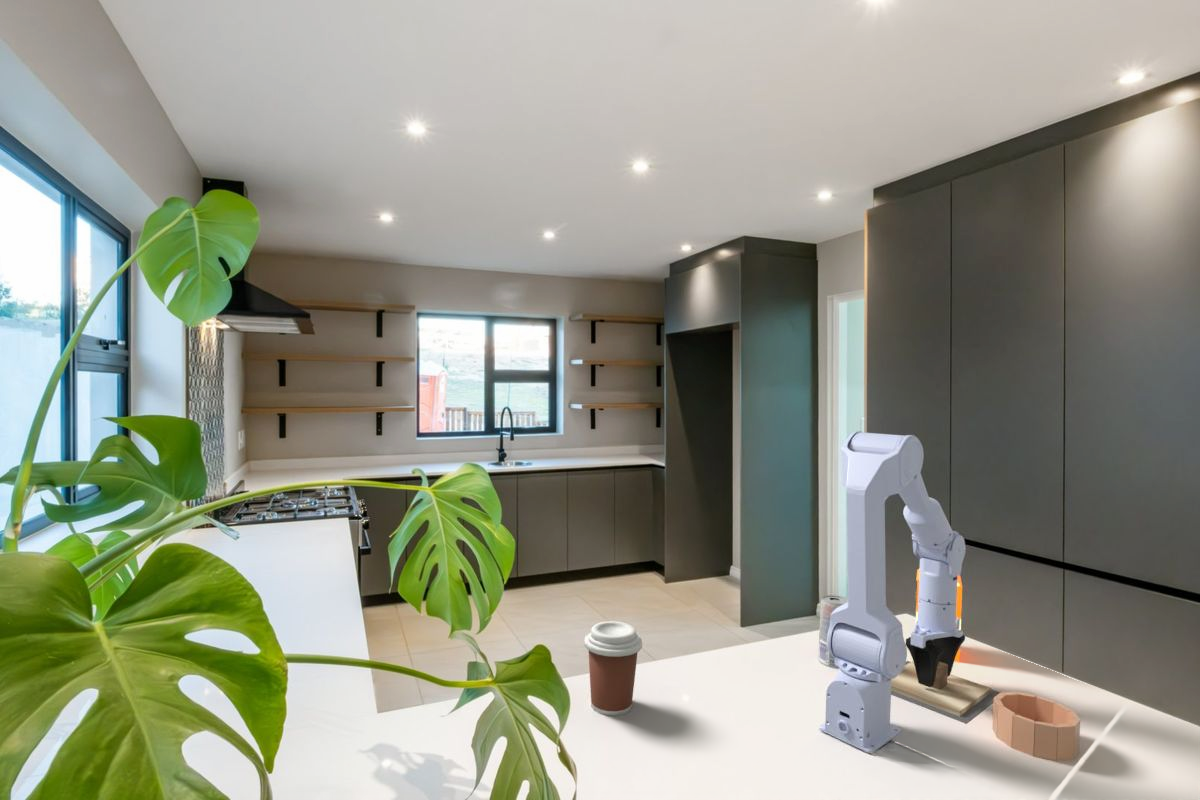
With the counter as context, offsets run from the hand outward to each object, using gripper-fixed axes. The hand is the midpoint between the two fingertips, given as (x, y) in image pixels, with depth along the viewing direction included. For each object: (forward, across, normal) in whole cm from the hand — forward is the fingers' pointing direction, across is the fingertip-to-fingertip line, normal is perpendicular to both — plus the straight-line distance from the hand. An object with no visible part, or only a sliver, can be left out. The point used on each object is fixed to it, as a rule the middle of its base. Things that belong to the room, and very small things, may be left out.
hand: (934, 679), depth 108 cm
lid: (+2, 0, 0) cm, 2 cm away
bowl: (+2, -5, -16) cm, 17 cm away
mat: (+2, 0, 0) cm, 2 cm away
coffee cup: (+2, -47, +29) cm, 55 cm away
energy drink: (+2, -4, +16) cm, 17 cm away
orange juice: (+2, +18, +7) cm, 19 cm away
